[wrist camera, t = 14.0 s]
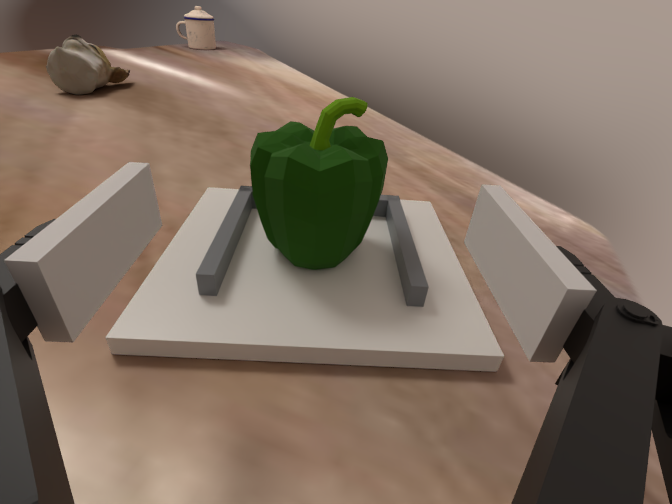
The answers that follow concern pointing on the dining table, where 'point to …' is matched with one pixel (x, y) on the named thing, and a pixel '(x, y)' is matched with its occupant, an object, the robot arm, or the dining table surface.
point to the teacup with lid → (199, 30)
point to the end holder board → (309, 295)
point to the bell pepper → (318, 186)
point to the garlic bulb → (82, 67)
